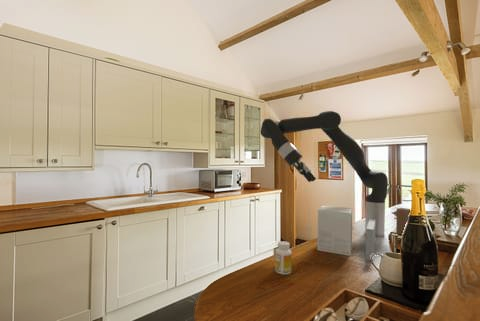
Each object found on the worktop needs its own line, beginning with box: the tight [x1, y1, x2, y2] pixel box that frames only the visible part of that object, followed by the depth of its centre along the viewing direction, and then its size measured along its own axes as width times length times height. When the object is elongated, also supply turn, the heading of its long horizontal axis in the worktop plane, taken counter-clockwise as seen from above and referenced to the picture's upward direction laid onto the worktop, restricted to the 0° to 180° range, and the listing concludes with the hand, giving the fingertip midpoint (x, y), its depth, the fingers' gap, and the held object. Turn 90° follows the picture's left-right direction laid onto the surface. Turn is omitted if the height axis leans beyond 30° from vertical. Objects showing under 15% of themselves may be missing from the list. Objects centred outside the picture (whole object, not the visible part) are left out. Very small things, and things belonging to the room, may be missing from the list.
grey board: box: [365, 218, 376, 261], centre depth 108 cm, size 22×2×12 cm, turn 150°
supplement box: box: [316, 205, 353, 257], centre depth 111 cm, size 13×13×18 cm
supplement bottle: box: [274, 240, 293, 276], centre depth 87 cm, size 5×5×10 cm
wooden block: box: [395, 207, 411, 235], centre depth 110 cm, size 9×4×18 cm, turn 40°
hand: (312, 180), depth 114 cm, fingers open, 8 cm apart
